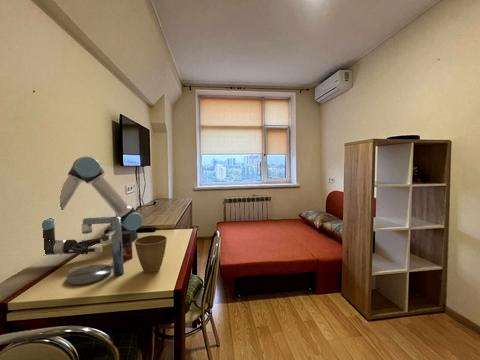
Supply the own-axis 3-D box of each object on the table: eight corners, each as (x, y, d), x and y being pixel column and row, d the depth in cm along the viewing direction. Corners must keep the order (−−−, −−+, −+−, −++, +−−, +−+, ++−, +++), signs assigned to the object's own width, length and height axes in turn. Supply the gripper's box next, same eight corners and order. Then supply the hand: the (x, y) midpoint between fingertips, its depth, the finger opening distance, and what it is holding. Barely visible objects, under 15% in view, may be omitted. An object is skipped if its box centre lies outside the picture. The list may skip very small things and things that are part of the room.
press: (58, 280, 110) (54, 221, 108) (98, 265, 126) (95, 213, 125) (94, 295, 97) (90, 227, 95) (134, 275, 113) (131, 218, 111)
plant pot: (149, 280, 109) (147, 246, 108) (129, 272, 117) (128, 241, 115) (174, 268, 121) (173, 237, 120) (155, 262, 129) (153, 233, 128)
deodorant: (132, 255, 138) (131, 230, 137) (132, 259, 133) (131, 233, 132) (121, 257, 136) (119, 231, 135) (120, 261, 131) (119, 234, 130)
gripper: (79, 245, 143) (116, 243, 145) (51, 262, 118) (97, 260, 121) (78, 233, 142) (116, 231, 145) (50, 248, 117) (96, 245, 120)
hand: (107, 244), depth 133 cm, fingers open, 13 cm apart
